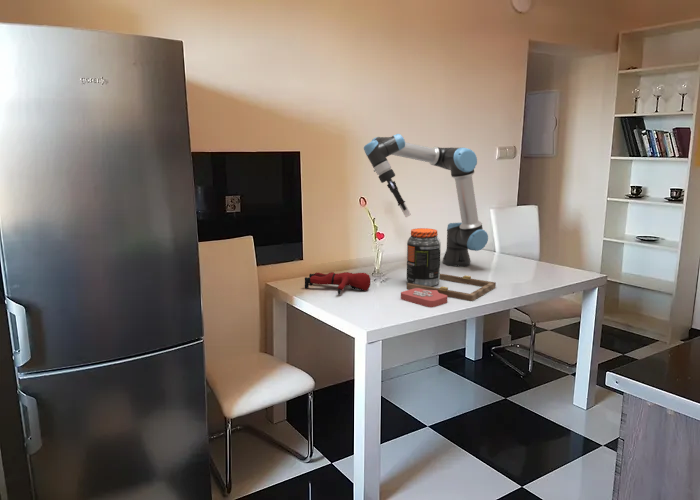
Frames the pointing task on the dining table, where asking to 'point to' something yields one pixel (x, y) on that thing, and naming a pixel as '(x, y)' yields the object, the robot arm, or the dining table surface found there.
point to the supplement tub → (423, 257)
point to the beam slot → (485, 285)
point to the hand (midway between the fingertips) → (408, 216)
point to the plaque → (424, 297)
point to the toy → (340, 280)
